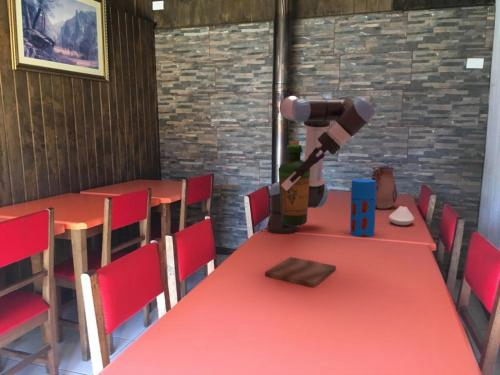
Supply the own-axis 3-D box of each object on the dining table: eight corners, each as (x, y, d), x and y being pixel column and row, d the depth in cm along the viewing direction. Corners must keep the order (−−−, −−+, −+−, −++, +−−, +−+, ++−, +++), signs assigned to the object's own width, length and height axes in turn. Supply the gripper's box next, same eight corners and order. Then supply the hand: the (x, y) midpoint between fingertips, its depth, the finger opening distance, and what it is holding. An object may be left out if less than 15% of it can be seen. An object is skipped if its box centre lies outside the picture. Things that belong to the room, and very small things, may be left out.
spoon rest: (413, 228, 193) (414, 214, 191) (387, 226, 197) (388, 212, 196) (414, 217, 214) (415, 204, 213) (391, 216, 219) (392, 203, 218)
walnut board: (265, 275, 134) (265, 271, 133) (290, 260, 148) (290, 256, 148) (314, 287, 124) (314, 283, 124) (335, 269, 139) (335, 265, 138)
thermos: (375, 237, 177) (378, 182, 173) (351, 236, 179) (352, 182, 175) (372, 230, 188) (374, 178, 184) (349, 230, 189) (350, 178, 185)
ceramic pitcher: (399, 206, 242) (401, 165, 238) (391, 213, 225) (393, 169, 221) (370, 203, 252) (372, 164, 248) (360, 209, 234) (362, 167, 230)
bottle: (289, 228, 129) (289, 142, 124) (272, 221, 138) (272, 141, 134) (316, 224, 133) (317, 141, 129) (298, 218, 143) (298, 140, 139)
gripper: (342, 148, 118) (290, 199, 123) (340, 145, 140) (296, 188, 145) (324, 130, 118) (273, 182, 123) (325, 130, 140) (282, 173, 146)
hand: (285, 185), depth 134 cm, fingers closed on bottle, 10 cm apart
